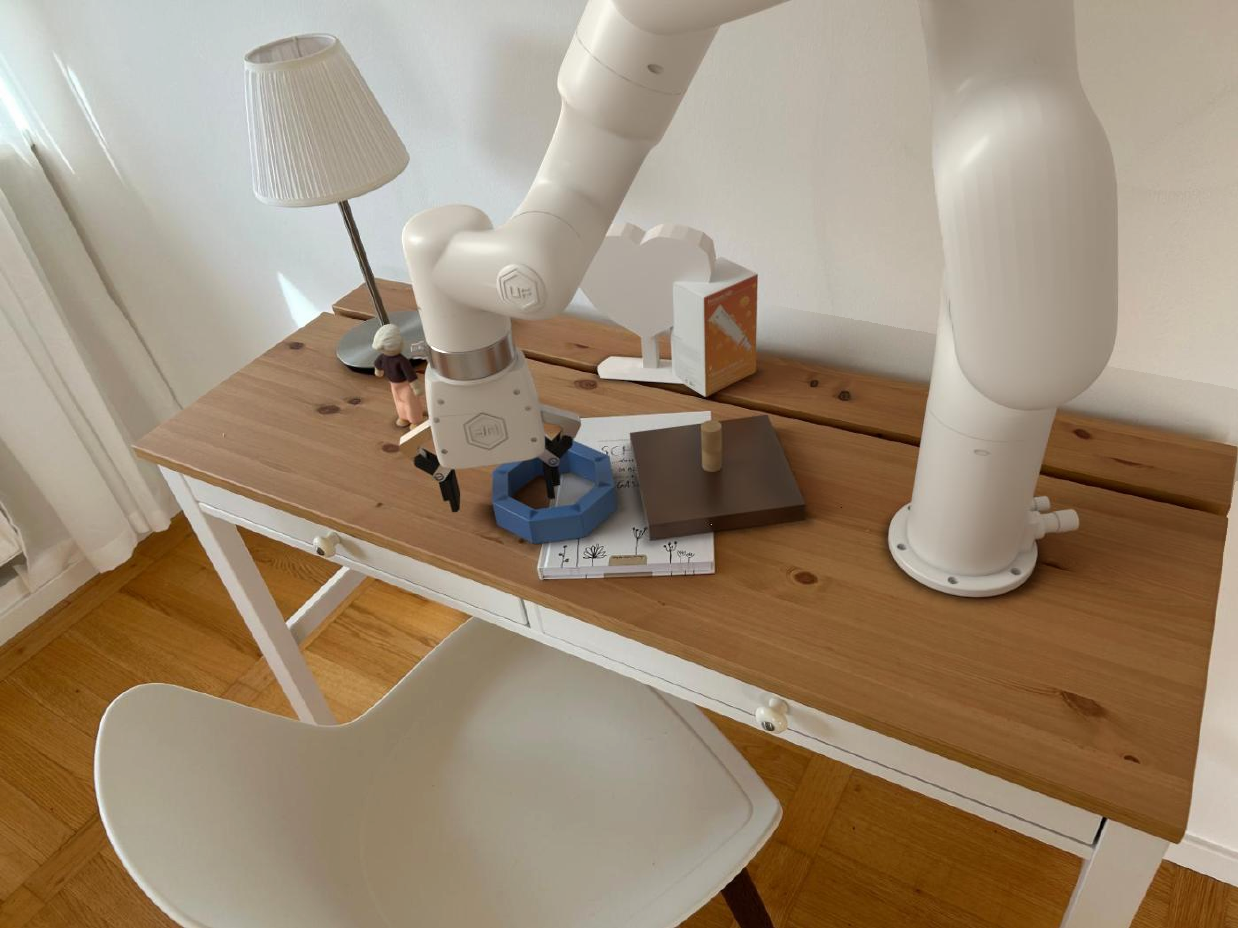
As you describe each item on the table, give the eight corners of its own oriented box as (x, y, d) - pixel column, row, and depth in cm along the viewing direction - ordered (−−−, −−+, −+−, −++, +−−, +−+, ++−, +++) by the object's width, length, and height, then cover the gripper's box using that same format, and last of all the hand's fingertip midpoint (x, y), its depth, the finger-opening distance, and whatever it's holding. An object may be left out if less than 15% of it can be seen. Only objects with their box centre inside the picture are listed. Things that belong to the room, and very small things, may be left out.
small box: (706, 399, 103) (703, 297, 95) (671, 377, 108) (665, 278, 100) (757, 373, 107) (759, 272, 99) (722, 352, 111) (720, 255, 103)
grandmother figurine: (448, 419, 104) (424, 323, 97) (428, 437, 102) (402, 340, 94) (396, 406, 108) (369, 312, 100) (375, 423, 105) (346, 328, 97)
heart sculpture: (718, 362, 109) (716, 221, 98) (712, 385, 105) (708, 241, 94) (595, 355, 113) (580, 218, 102) (584, 377, 109) (567, 237, 98)
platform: (767, 429, 98) (768, 375, 94) (804, 519, 86) (808, 462, 82) (630, 447, 97) (625, 393, 93) (649, 540, 86) (645, 484, 81)
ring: (608, 457, 96) (605, 435, 94) (620, 532, 87) (618, 509, 85) (496, 472, 96) (492, 450, 94) (497, 549, 86) (492, 526, 85)
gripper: (369, 384, 76) (415, 533, 87) (572, 358, 77) (593, 509, 87) (378, 340, 82) (419, 485, 93) (566, 316, 83) (586, 462, 93)
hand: (503, 496), depth 90 cm, fingers open, 9 cm apart
